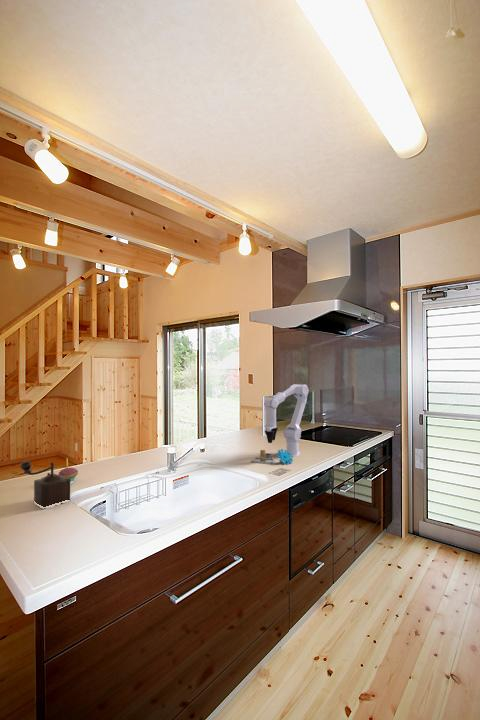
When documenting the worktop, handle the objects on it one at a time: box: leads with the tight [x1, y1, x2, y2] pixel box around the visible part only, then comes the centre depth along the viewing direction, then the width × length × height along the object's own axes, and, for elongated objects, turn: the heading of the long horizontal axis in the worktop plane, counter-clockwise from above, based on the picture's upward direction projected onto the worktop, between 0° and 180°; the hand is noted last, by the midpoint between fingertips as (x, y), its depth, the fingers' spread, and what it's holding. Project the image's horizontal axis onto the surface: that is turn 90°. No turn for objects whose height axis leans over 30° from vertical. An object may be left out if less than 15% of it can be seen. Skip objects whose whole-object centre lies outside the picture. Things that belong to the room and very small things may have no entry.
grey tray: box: [250, 456, 276, 465], centre depth 197 cm, size 8×12×1 cm
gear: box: [276, 448, 295, 465], centre depth 195 cm, size 11×6×10 cm
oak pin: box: [259, 449, 267, 462], centre depth 197 cm, size 3×3×6 cm
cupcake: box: [58, 458, 79, 482], centre depth 164 cm, size 9×8×12 cm
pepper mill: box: [20, 460, 71, 507], centre depth 139 cm, size 16×11×18 cm
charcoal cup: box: [266, 452, 274, 458], centre depth 205 cm, size 6×6×2 cm
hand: (271, 441), depth 203 cm, fingers open, 7 cm apart
